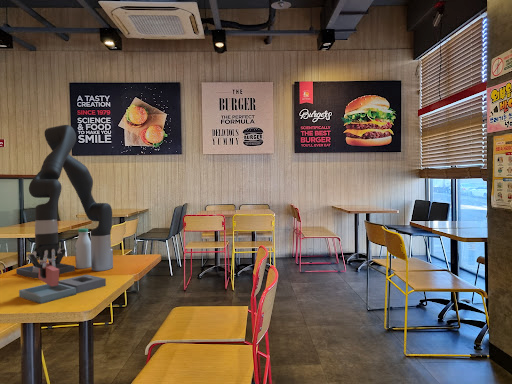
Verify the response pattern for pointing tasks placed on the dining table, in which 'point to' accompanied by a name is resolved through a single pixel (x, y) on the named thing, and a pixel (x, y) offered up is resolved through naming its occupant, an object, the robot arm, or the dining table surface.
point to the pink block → (50, 275)
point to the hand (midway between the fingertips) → (47, 277)
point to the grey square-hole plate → (84, 282)
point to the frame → (28, 272)
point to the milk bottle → (83, 250)
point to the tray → (47, 293)
